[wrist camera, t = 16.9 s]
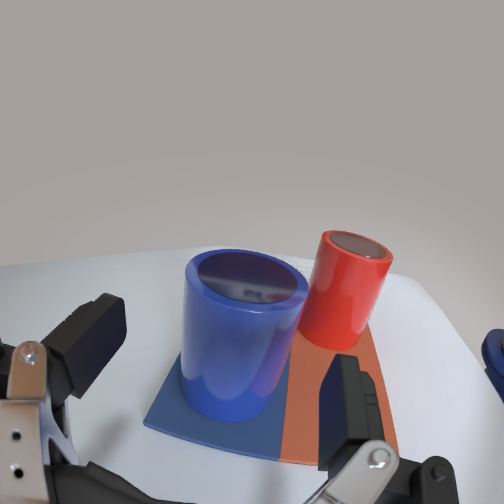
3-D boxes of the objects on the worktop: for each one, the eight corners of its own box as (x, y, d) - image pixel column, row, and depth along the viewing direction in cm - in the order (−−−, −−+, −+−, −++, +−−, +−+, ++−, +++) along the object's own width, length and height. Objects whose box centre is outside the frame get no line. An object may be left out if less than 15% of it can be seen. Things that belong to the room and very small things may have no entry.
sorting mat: (362, 311, 30) (363, 308, 30) (397, 466, 12) (400, 463, 12) (220, 281, 31) (221, 277, 31) (143, 425, 14) (142, 422, 13)
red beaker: (354, 316, 28) (382, 239, 25) (363, 355, 22) (403, 267, 19) (297, 304, 28) (319, 224, 25) (295, 343, 23) (325, 249, 19)
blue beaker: (277, 364, 20) (308, 262, 17) (267, 432, 14) (310, 324, 11) (196, 345, 21) (206, 240, 17) (167, 405, 15) (164, 289, 12)
